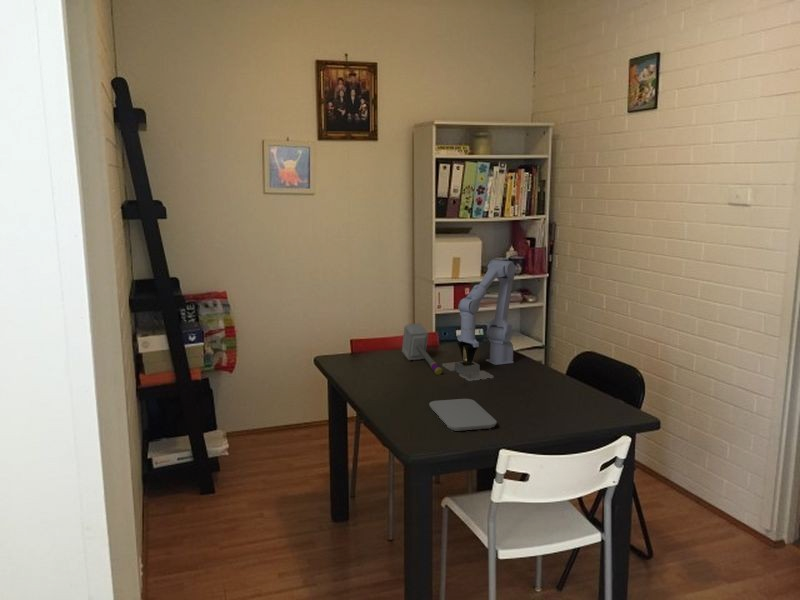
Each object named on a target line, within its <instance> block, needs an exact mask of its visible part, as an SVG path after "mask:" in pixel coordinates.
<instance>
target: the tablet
mask: <svg viewBox="0 0 800 600" xmlns="http://www.w3.org/2000/svg"><path fill="white" fill-rule="evenodd" d="M429 407H430V408H431V411H432V410H433V411H434V412H435V413H436V414H437V415H438V416H439V417H438V416H437V415H436V414H435V413H434V412H433V411H432V412H433V413H434V414H435V415H436V416H437V417H438V418H440V419H441V420H442V421H443V422H444V423H445V424H446V425H447V427H448V428H449V429H451V430H454V431H460V430H461V431H462V430H472V429H482V428H484V429H485V428H491V427H494V428H495V426H497V422H498V421H497V420H496V419H495V418H494V417H493V416H492V415H491V414H490V413H488V412H487V411H486V410H485V409H484V408H483V407H482V406H481V405H480V404H479V403H477V401H475V400H473V399H471V398H458V399H457V398H455V399H445V400H444V399H441V400H440V399H439V400H433V401H430V402H429ZM440 419H439V420H440ZM441 420H440V421H441ZM442 421H441V422H442ZM443 422H442V423H443ZM444 423H443V424H444ZM445 424H444V425H445ZM447 427H446V428H447ZM448 428H447V429H448ZM449 429H448V430H449Z"/></svg>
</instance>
